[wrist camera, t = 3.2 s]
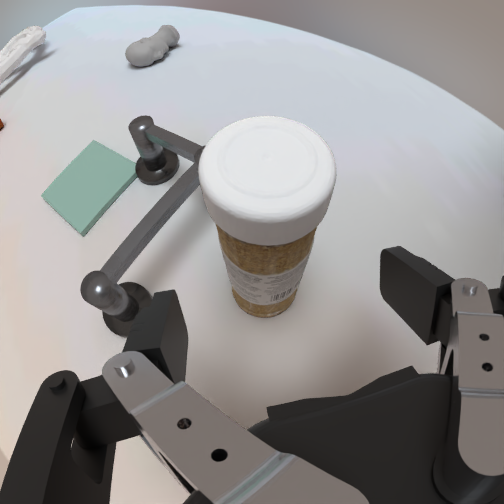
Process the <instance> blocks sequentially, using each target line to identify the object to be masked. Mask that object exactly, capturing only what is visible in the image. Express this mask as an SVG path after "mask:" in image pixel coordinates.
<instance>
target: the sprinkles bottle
mask: <svg viewBox="0 0 504 504" xmlns="http://www.w3.org/2000/svg"><path fill="white" fill-rule="evenodd" d="M198 173H199V181H200V185H201V189H202V193H203V197H204V201H205V205H206V208H207V210H208V212H209V214H210V216H211V218H212V219H213V221H214V222H215V223H216V227H217V230H218V236H219V242H220V246H221V250H222V254H223V257H224V260H225V264H226V267H227V271H228V275H229V279H230V282H231V284H232V292H233V296H234V298H235V300H236V302H237V304H238V305H239V306H240V307H241V308H242V309H243V310H244V311H245V312H247V313H248V314H251V315H254V316H257V317H272V316H275V315H277V314H280V313H281V312H283V311H284V310H286V309H287V308H288V307H289V306H290V304H291V303H292V302H293V300H294V298H295V295H296V291H297V287H298V285H299V283H300V280H301V278H302V275H303V272H304V269H305V267H306V264H307V261H308V258H309V255H310V252H311V249H312V246H313V242H314V235H315V231H316V229H317V226H318V225H319V223H320V222H321V221H322V219H323V218H324V216H325V214H326V212H327V209H328V206H329V203H330V200H331V197H332V193H333V189H334V186H335V181H336V163H335V159H334V156H333V153H332V151H331V149H330V148H329V146H328V144H327V143H326V142H325V141H324V139H323V138H322V137H321V136H320V135H319V134H317V133H316V132H315V131H314V130H312V129H311V128H309V127H308V126H306V125H304V124H302V123H299V122H297V121H294V120H291V119H287V118H283V117H276V116H257V117H250V118H246V119H242V120H239V121H236V122H234V123H232V124H230V125H228V126H226V127H224V128H223V129H221V130H220V131H218V132H217V133H216V134H215V135H214V136H213V137H212V138H211V139H210V140H209V142H208V143H207V145H206V146H205V148H204V150H203V152H202V154H201V157H200V161H199V168H198Z"/></svg>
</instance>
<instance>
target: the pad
mask: <svg viewBox="0 0 504 504" xmlns="http://www.w3.org/2000/svg"><path fill="white" fill-rule="evenodd" d="M135 166H136V163H134V162H132V161H131V160H129V159H127V158H125V157H123V156H122V155H120V154H118V153H116V152H114V151H113V150H111V149H109V148H107V147H105V146H104V145H102V144H100V143H98V142H96V141H95V140H93V141H92V142H91V143H90V144H89V145H88V146H87V147H86V148H85V149H84V150H83V151H82V152H81V153H80V154H79V155H78V156H77V157H76V158H75V159H74V160H73V161H72V162H71V163H70V164H69V165H68V166H67V167H66V168H65V169H64V170H63V172H62V173H61V174H60V175H59V176H58V177H57V178H56V179H55V180H54V181H53V182H52V184H51V185H50V186H49V187H48V188H47V189H46V190H45V191H44V193H43V194H42V195H41V196H42V197H43V199H44V200H45V201H46V202H47V203H48V204H49V205H51V206H52V207H53V208H54V209H55V210H56V211H57V212H58V213H59V214H60V215H61V216H62V217H63V218H64V219H65V220H66V221H67V222H68V223H69V224H70V225H71V226H73V227H74V228H75V229H76V230H77V231H78V232H79V233H80V234H81V235H82V236H83V237H84V236H85V235H86V233H87V232H88V231H89V230H90V229H91V227H92V226H93V225H94V224H95V223H96V221H97V220H98V219H99V218H100V217H101V216H102V214H103V213H104V212H105V211H106V210H107V209H108V208H109V207H110V205H111V204H112V203H113V202H114V201H115V200H116V199H117V198H118V197H119V196H120V194H121V193H122V192H123V191H124V190H125V189H126V188H127V187H128V186H129V185H130V184H131V183H132V182H133V181H134V180H135V178H136V177H137V174H136V171H135ZM137 167H138V166H137Z"/></svg>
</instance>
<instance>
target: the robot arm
mask: <svg viewBox="0 0 504 504" xmlns="http://www.w3.org/2000/svg"><path fill="white" fill-rule="evenodd" d="M380 291H381V295H382V297H383V299H384V300H385V301H386V302H387V303H388V304H389V305H390V307H391V308H392V309H393V310H394V311H395V312H396V313H397V314H398V315H399V316H400V317H401V318H402V319H403V320H404V321H405V322H406V323H407V324H408V325H409V326H410V327H411V329H412V330H413V331H414V332H415V333H416V334H417V335H418V336H419V337H420V338H421V339H422V340H423V341H424V343H425V344H426V345H429V344H432V343H434V342H437V341H440V342H441V343H440V347H439V354H438V367H437V374H434V373H428V374H418V373H417V371H416V370H415V369H414V368H413V366H409V367H407V368H404V369H401V370H399V371H396V372H393V373H390V374H387V375H385V376H382V377H380V378H378V379H376V380H375V381H373V382H371V383H369V384H368V385H366V386H364V387H363V388H361V389H359V390H357V391H355V392H354V393H352V394H350V395H346V396H337V397H324V398H308V399H302V400H298V401H294V402H289V403H285V404H280V405H275V406H270V407H267V412H268V417H269V418H268V419H266V420H263V421H261V422H259V423H257V424H255V425H254V426H252V427H250V428H249V429H247V430H246V429H244V428H243V427H242V426H240V425H239V424H237V423H236V422H235V421H233V420H232V419H231V418H229V417H228V416H227V415H225V414H224V413H223V412H221V411H220V410H219V409H217V408H216V407H215V406H214V405H212V404H211V403H210V402H208V401H207V400H206V399H205V398H203V397H202V396H201V395H200V394H199V393H197V392H196V391H195V390H194V389H192V388H191V387H190V386H189V385H188V384H186V383H185V375H186V362H187V350H188V332H187V327H186V324H185V320H184V317H183V314H182V310H181V307H180V304H179V300H178V297H177V294H176V291H175V290H168V291H162V292H156V293H154V296H153V299H152V302H151V305H150V307H144V308H143V309H142V310H141V311H140V312H139V313H138V314H137V315H136V316H135V319H134V322H133V326H132V327H131V330H130V333H129V335H128V338H127V340H126V343H125V346H124V349H123V352H122V353H119V354H117V355H115V356H113V357H112V358H110V359H109V360H108V361H107V362H106V363H105V364H104V366H103V369H102V375H101V376H98V377H95V378H91V379H88V380H85V381H81V382H80V380H79V379H78V377H77V375H76V374H75V373H74V372H72V371H68V370H64V371H59V372H56V373H54V374H52V375H50V376H49V377H48V378H46V379H45V380H44V382H43V383H42V384H41V386H40V388H39V391H38V393H37V395H36V397H35V399H34V402H33V404H32V406H31V408H30V411H29V413H28V415H27V418H26V420H25V423H24V425H23V428H22V430H21V433H20V435H19V438H18V440H17V443H16V446H15V448H14V451H13V454H12V457H11V459H10V462H9V465H8V468H7V472H6V475H5V477H4V481H3V484H2V487H1V491H0V504H109V502H110V491H111V481H112V472H113V464H114V456H115V449H116V442H118V441H121V440H125V439H128V438H131V437H135V436H138V435H139V436H140V438H141V439H142V440H143V441H144V443H145V444H146V445H147V446H148V448H149V449H150V450H151V451H152V452H153V454H154V455H155V456H156V457H157V458H158V460H159V461H160V462H161V463H162V464H163V465H164V466H165V468H166V469H167V470H168V471H169V472H170V473H171V474H172V476H173V477H174V478H175V479H176V480H177V482H178V483H179V484H180V485H181V486H182V487H183V488H184V489H185V490H186V492H187V493H188V494H189V495H190V496H189V497H188V498H187V500H186V501H185V502H184V503H183V504H504V276H503V277H502V280H501V285H500V288H497V289H489V290H488V289H487V287H486V285H485V284H483V283H482V282H480V281H478V280H475V279H471V278H461V279H457V280H455V279H453V278H452V277H450V276H449V275H447V274H446V273H445V272H443V271H442V270H440V269H438V268H437V267H436V266H434V265H432V264H431V263H430V262H428V261H427V260H425V259H424V258H421V257H418V256H415V255H413V254H412V253H410V252H409V251H407V250H406V249H404V248H403V247H401V246H396V247H392V248H387V249H383V250H382V252H381V256H380ZM72 440H73V443H72ZM71 444H72V447H71Z"/></svg>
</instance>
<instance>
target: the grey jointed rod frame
mask: <svg viewBox="0 0 504 504" xmlns="http://www.w3.org/2000/svg"><path fill="white" fill-rule="evenodd" d="M129 131H130V133H131V135H132V138H133V140H134V142H135V145H136V147H137V149H138V151H139V154H140V156H141V157H140V158H139V159H138V161H137V163H136V166H135V171H136V174H137V176H138V178H139V179H140V181H141V182H143V183H145V184H148V185H157V184H161V183H164V182H166V181H167V180H169V179H170V178H172V177H173V176H174V174H175V173H176V172H177V170H178V167H179V160H178V156H177V154H178V155H180V156H182V157H184V158H186V159H188V160H190V161H192V162H194V164H193V165H192V166H191V167H190V168H189V169H188V170H187V171H186V172H185V173H184V174H183V175H182V176H181V177H180V178H179V180H178V181H177V182H176V183H175V184H174V185H173V186H172V187H171V188H170V189H169V190H168V191H167V192H166V193H165V195H164V196H163V197H162V198H161V199H160V200H159V201H158V202H157V203H156V204H155V206H154V207H153V208H152V209H151V210H150V211H149V212H148V213H147V215H146V216H145V217H144V218H143V219H142V220H141V221H140V223H139V224H138V225H137V226H136V227H135V228H134V230H133V231H132V232H131V233H130V234H129V235H128V237H127V238H126V239H125V240H124V241H123V243H122V244H121V245H120V246H119V247H118V249H117V250H116V251H115V252H114V254H113V255H112V256H111V257H110V259H109V260H108V261H107V262H106V264H105V265H104V266H103V267H102V269H101V270H100V271H93V272H90V273H89V274H88V275H86V277H85V278H84V279H83V281H82V284H81V295H82V297H83V299H84V300H85V301H86V302H88V303H90V304H91V305H93V306H95V307H96V308H98V309H100V310H102V311H103V318H104V321H105V323H106V325H107V327H108V328H109V329H110V330H111V331H112V332H114V333H115V334H117V335H120V336H122V337H128V335H129V333H130V330H131V327H132V326H133V322H134V319H135V316H136V315H137V314H138V313H139V312H140V311H141V310H142V309H143V308H144V307H150V305H151V302H152V299H153V298H152V296H151V295H150V293H149V292H148V291H147V290H146V289H145V288H144V287H142V286H141V285H139V284H137V283H133V282H125V283H121V284H119V285H118V284H117V282H118V280H119V279H120V278H121V277H122V275H123V274H124V273H125V271H126V270H127V269H128V268H129V266H130V265H131V264H132V263H133V261H134V260H135V259H136V258H137V257H138V255H139V254H140V253H141V252H142V250H143V249H144V248H145V247H146V246H147V244H148V243H149V242H150V241H151V240H152V238H153V237H154V236H155V235H156V234H157V232H158V231H159V230H160V229H161V228H162V227H163V225H164V224H165V223H166V222H167V221H168V220H169V218H170V217H171V216H172V215H173V214H174V213H175V212H176V210H177V209H178V208H179V207H180V206H181V205H182V204H183V203H184V201H185V200H186V199H187V198H188V197H189V196H190V195H191V194H192V192H193V191H194V190H195V189H196V188H197V187H198V186H199V185H200V181H199V173H198V168H199V161H200V157H201V154H202V152H203V150H204V148H205V146H203V147H202V146H200V145H198V144H196V143H194V142H191V141H189V140H187V139H185V138H183V137H180V136H178V135H176V134H174V133H172V132H169V131H167V130H165V129H162V128H160V127H158V126H156V125H154V122H153V119H152V118H151V117H150V116H140V117H137V118H135V119H134V120H133V121H132V122H131V123H130V124H129ZM137 166H138V167H137Z"/></svg>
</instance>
